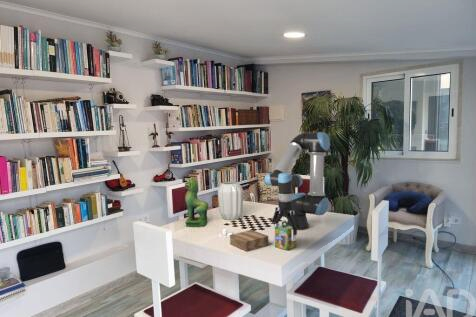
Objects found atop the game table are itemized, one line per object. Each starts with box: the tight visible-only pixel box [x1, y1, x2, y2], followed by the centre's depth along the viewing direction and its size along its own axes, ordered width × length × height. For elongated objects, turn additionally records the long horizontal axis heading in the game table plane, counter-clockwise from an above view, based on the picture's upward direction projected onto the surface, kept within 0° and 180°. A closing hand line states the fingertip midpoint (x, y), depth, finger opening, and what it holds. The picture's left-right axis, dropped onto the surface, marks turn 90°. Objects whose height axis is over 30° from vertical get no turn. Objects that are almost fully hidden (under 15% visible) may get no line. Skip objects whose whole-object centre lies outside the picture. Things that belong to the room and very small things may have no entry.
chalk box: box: [274, 220, 297, 251], centre depth 190 cm, size 9×9×15 cm
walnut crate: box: [229, 229, 270, 253], centre depth 196 cm, size 16×16×6 cm
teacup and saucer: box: [218, 228, 233, 238], centre depth 215 cm, size 9×8×4 cm
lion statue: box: [184, 176, 209, 228], centre depth 240 cm, size 14×17×35 cm
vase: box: [217, 181, 244, 221], centre depth 256 cm, size 20×20×27 cm
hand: (285, 237), depth 190 cm, fingers open, 13 cm apart
